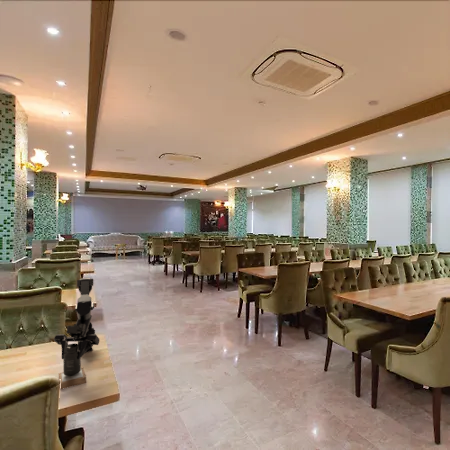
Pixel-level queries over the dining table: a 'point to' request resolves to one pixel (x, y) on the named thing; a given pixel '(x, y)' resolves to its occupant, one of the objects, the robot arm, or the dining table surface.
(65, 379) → the walnut plinth
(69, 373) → the supplement bottle
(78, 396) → the dining table surface
